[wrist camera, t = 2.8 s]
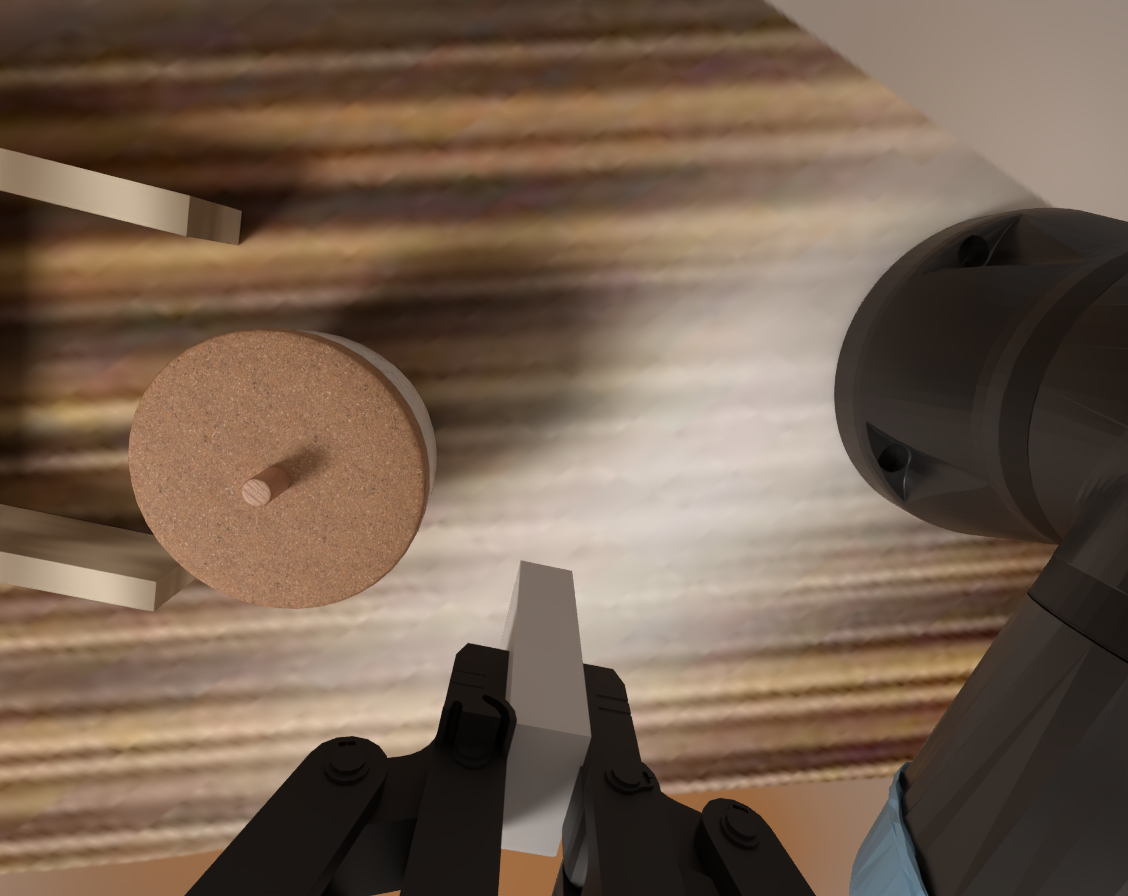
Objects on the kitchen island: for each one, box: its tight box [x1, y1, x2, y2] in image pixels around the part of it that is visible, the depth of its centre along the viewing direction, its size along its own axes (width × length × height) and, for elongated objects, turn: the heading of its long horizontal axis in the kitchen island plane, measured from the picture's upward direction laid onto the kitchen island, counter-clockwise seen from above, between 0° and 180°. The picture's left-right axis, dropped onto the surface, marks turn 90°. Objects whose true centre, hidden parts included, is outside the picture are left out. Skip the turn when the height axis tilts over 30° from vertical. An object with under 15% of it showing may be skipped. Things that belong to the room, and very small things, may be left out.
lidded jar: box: [128, 328, 437, 609], centre depth 24 cm, size 11×11×9 cm
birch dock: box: [0, 148, 242, 612], centre depth 26 cm, size 12×18×4 cm
